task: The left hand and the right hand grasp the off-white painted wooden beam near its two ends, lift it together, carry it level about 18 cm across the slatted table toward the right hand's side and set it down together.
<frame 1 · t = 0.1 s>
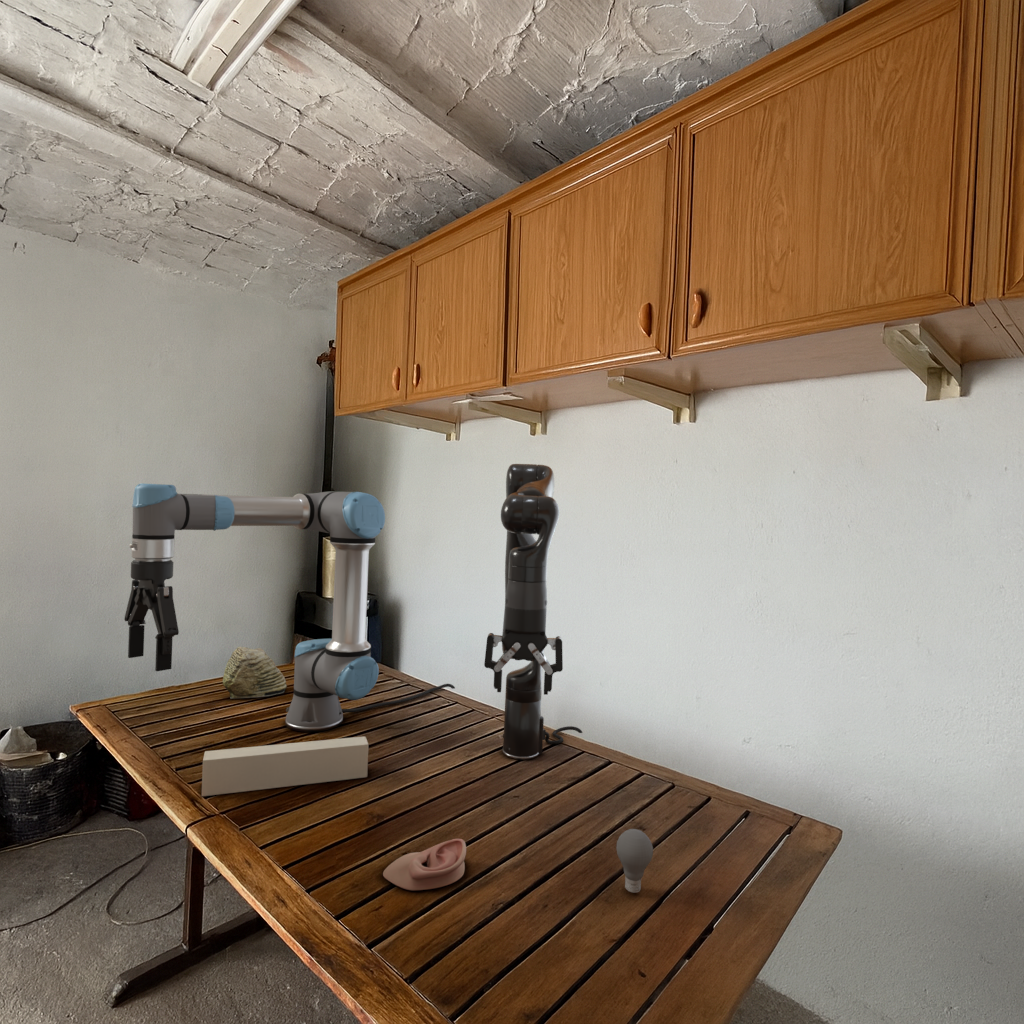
left hand: (149, 663, 129), 28 cm above the table, fingers open, 13 cm apart
right hand: (522, 692, 116), 29 cm above the table, fingers open, 8 cm apart
anatomical model: (425, 872, 108), on the table
light bulb: (632, 891, 106), on the table
fossil: (254, 694, 198), on the table
beam: (287, 781, 140), on the table
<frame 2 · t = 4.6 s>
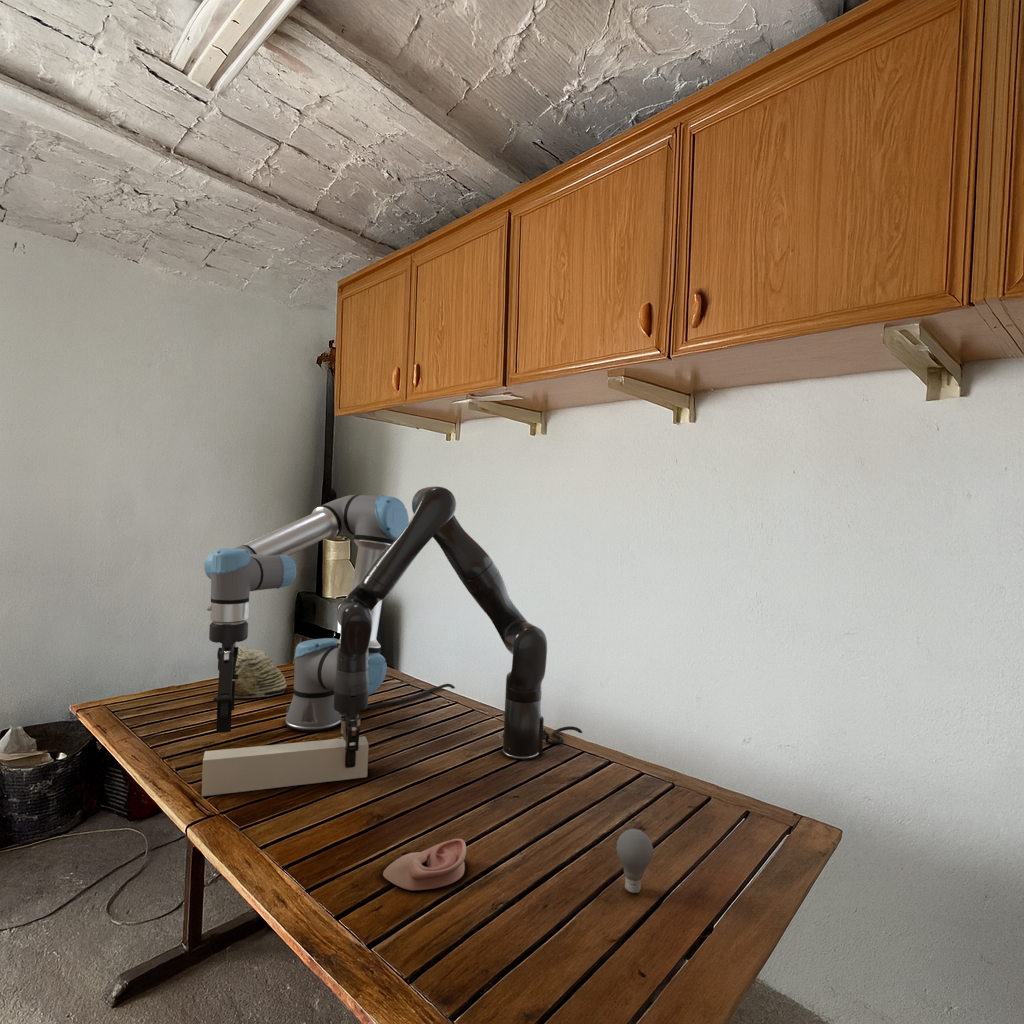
left hand: (225, 720, 135), 15 cm above the table, fingers open, 13 cm apart
right hand: (348, 761, 145), 3 cm above the table, fingers closed on beam, 5 cm apart
beam: (287, 781, 140), on the table, touching right hand
everything else where it was.
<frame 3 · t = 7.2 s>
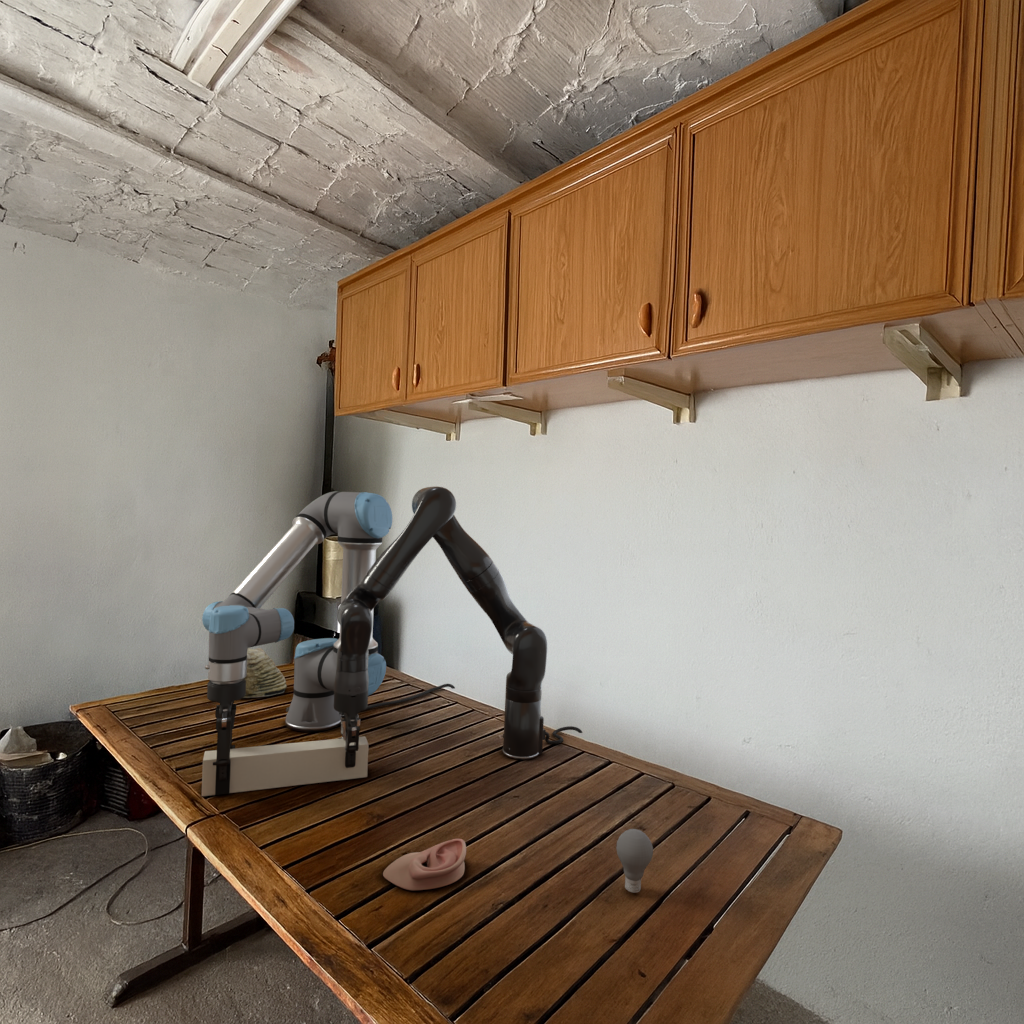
left hand: (223, 787, 135), 0 cm above the table, fingers closed on beam, 5 cm apart
right hand: (348, 761, 145), 3 cm above the table, fingers closed on beam, 5 cm apart
beam: (287, 781, 140), on the table, touching left hand, right hand
everything else where it was.
when the left hand's fingers open (1 cm above the table, at t = 13.6 s): beam stays where it is, on the table.
when the right hand's fingers open (3 cm above the table, at t = 13.8 s): beam stays where it is, on the table.
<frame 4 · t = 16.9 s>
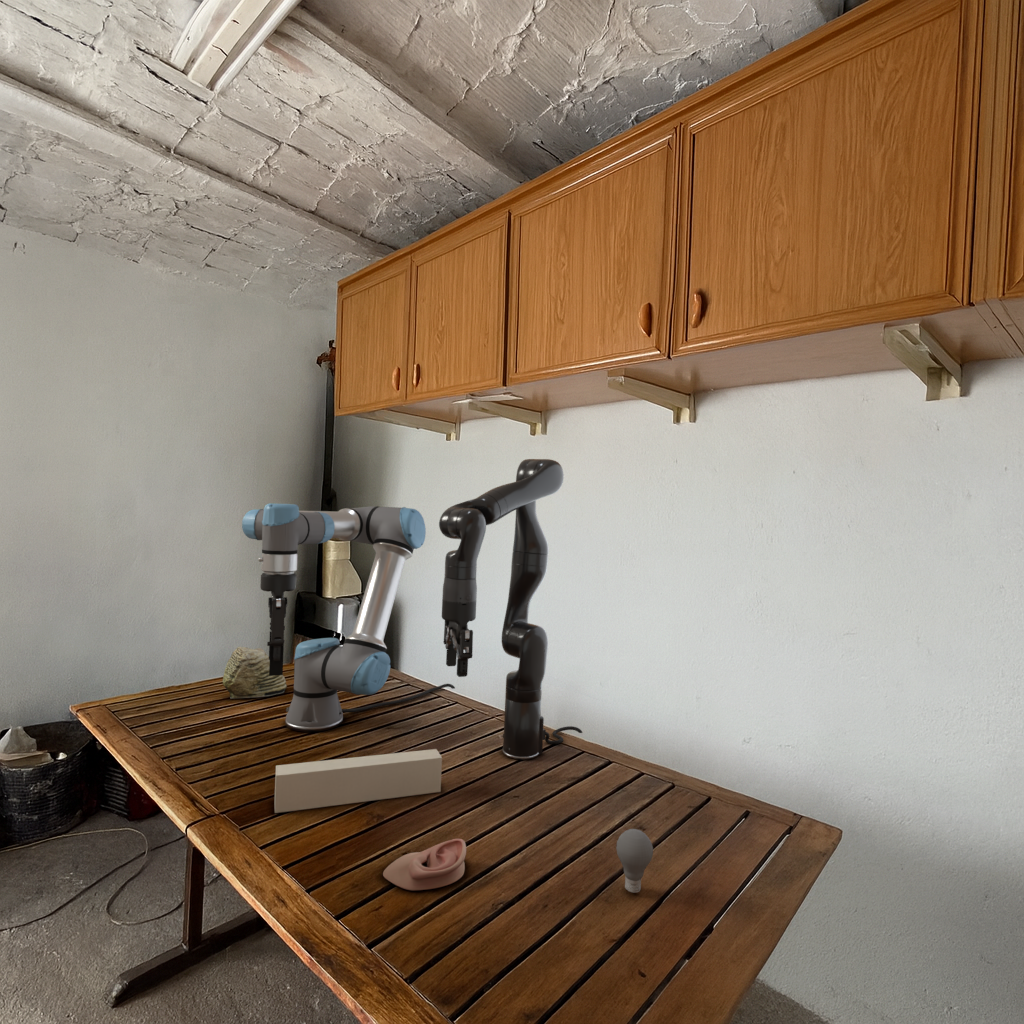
left hand: (275, 666, 142), 25 cm above the table, fingers open, 13 cm apart
right hand: (456, 670, 140), 26 cm above the table, fingers open, 8 cm apart
beam: (359, 796, 135), on the table
everything else where it was.
at the end: beam inside the target area (0.5 cm from its centre), on the table; both hands held the beam at the same time; beam never tilted more than 7° during the clip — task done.
